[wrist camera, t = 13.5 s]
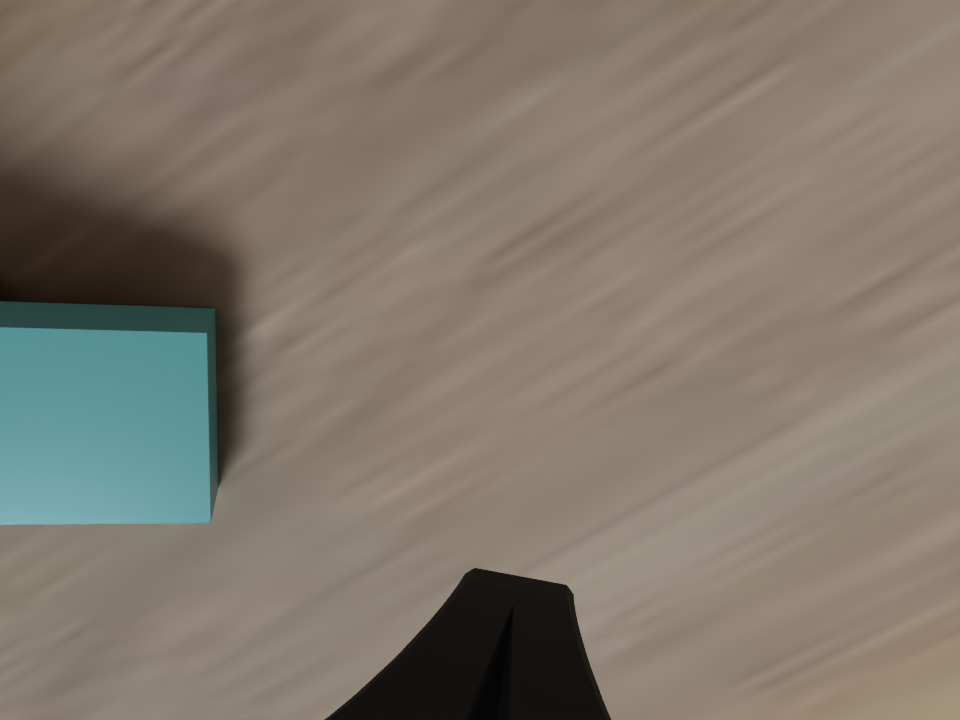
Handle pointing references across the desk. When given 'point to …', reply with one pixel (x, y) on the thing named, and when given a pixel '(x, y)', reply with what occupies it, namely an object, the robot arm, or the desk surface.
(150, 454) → the domino
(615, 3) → the desk surface
